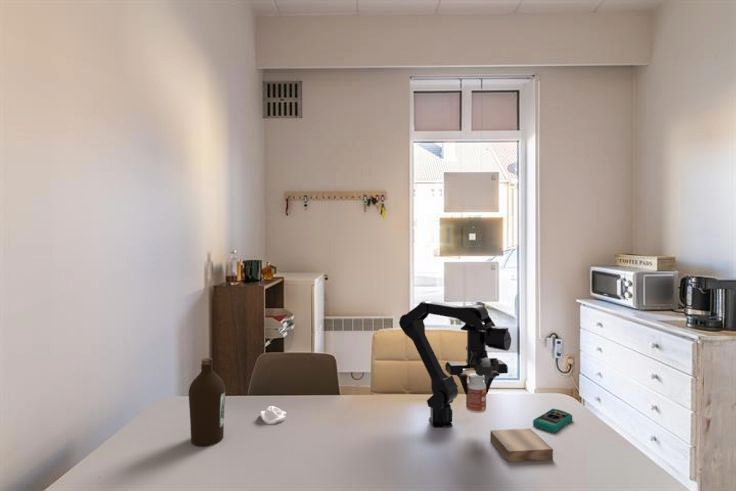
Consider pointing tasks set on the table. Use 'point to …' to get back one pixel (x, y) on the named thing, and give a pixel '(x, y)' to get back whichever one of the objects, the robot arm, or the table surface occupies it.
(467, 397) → the pill bottle
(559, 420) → the digital multimeter
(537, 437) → the walnut base
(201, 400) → the olive oil
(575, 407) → the table surface
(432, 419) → the robot arm
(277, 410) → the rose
